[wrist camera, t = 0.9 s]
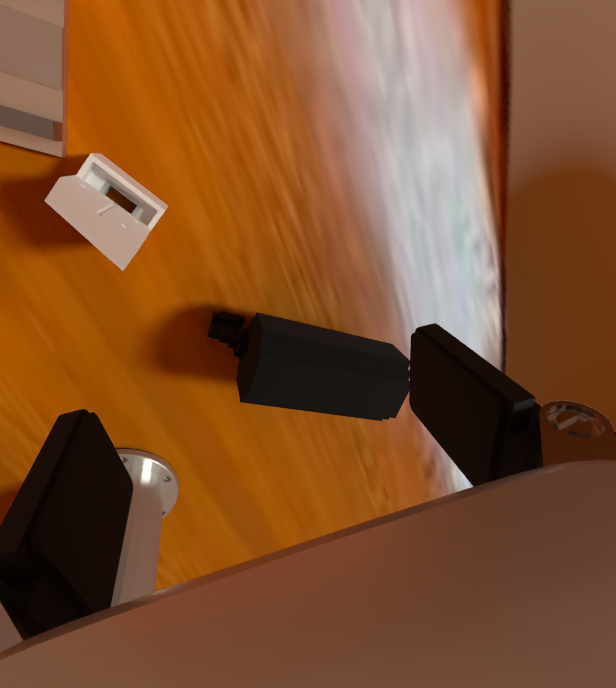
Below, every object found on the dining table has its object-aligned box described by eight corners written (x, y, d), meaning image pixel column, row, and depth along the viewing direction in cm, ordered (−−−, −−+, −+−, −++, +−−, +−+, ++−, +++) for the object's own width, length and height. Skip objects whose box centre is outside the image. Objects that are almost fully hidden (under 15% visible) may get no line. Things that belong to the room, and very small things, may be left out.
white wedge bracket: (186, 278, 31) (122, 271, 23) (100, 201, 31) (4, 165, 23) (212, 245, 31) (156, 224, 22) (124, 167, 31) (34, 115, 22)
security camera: (219, 287, 35) (226, 330, 26) (379, 327, 42) (426, 371, 33) (202, 350, 37) (204, 408, 29) (356, 378, 44) (395, 431, 36)
